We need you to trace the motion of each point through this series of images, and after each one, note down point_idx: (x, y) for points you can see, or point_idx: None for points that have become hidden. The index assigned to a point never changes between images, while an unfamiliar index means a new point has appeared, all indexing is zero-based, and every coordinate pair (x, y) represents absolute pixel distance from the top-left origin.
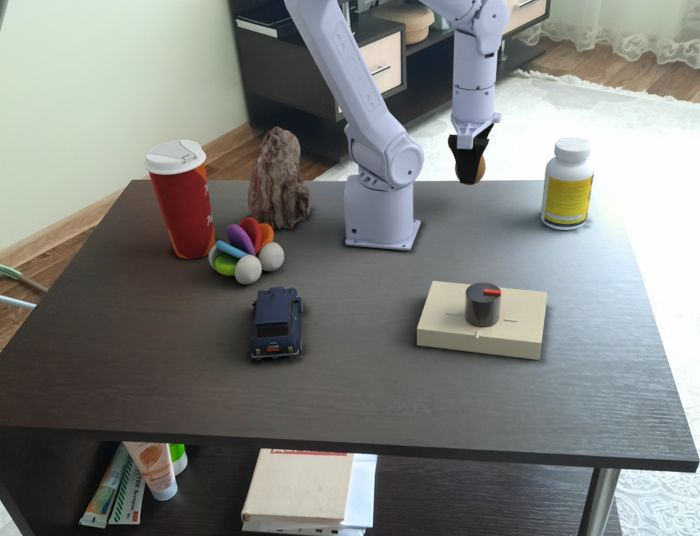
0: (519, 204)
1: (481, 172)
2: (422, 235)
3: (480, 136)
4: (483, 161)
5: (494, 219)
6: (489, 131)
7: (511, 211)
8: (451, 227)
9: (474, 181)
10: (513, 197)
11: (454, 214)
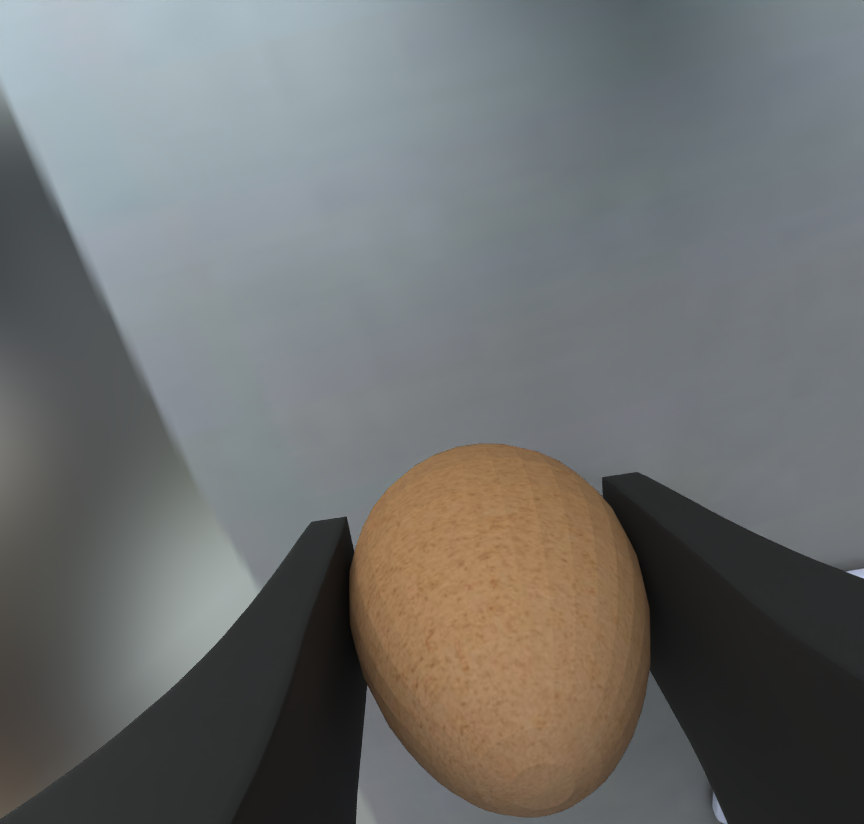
0: (352, 93)
1: (568, 474)
2: (835, 541)
3: (297, 804)
4: (527, 527)
5: (611, 220)
6: (258, 798)
7: (475, 129)
8: (742, 437)
9: (652, 480)
10: (259, 168)
11: (593, 467)
